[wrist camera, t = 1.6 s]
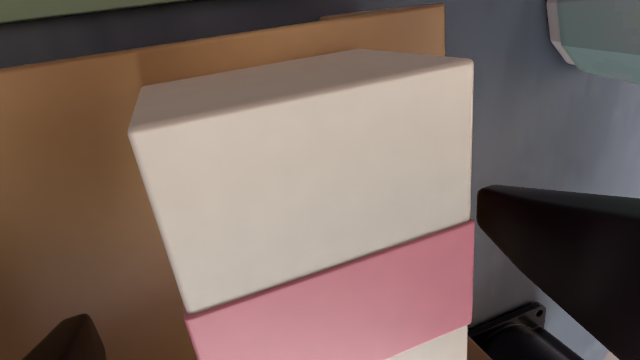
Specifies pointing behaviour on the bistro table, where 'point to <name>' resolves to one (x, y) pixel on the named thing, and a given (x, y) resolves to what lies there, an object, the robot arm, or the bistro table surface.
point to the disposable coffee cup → (598, 36)
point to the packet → (317, 205)
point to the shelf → (128, 178)
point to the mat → (65, 7)
